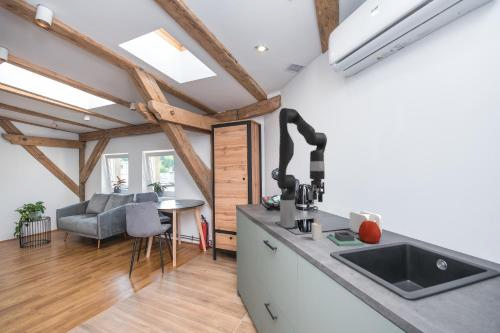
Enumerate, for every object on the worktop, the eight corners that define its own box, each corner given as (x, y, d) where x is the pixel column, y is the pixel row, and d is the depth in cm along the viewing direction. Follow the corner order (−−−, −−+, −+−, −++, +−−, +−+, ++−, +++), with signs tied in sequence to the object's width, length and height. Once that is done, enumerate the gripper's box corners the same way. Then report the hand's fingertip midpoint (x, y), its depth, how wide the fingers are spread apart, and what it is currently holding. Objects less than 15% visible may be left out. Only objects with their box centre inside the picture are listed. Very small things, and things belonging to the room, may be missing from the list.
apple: (375, 238, 118) (374, 218, 118) (385, 244, 107) (385, 223, 108) (355, 237, 118) (355, 218, 118) (364, 244, 108) (363, 222, 108)
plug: (311, 238, 118) (311, 222, 118) (318, 237, 119) (318, 222, 119) (314, 240, 114) (314, 224, 114) (321, 240, 115) (321, 224, 115)
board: (327, 236, 120) (327, 230, 120) (348, 236, 121) (348, 229, 121) (339, 245, 106) (339, 238, 106) (363, 245, 107) (363, 237, 107)
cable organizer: (348, 230, 133) (348, 210, 133) (363, 229, 135) (363, 210, 135) (366, 237, 118) (366, 216, 118) (383, 236, 120) (383, 215, 121)
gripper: (306, 170, 124) (306, 199, 124) (314, 170, 109) (314, 203, 109) (319, 170, 124) (319, 199, 124) (329, 170, 110) (329, 202, 110)
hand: (317, 200), depth 117 cm, fingers open, 8 cm apart
